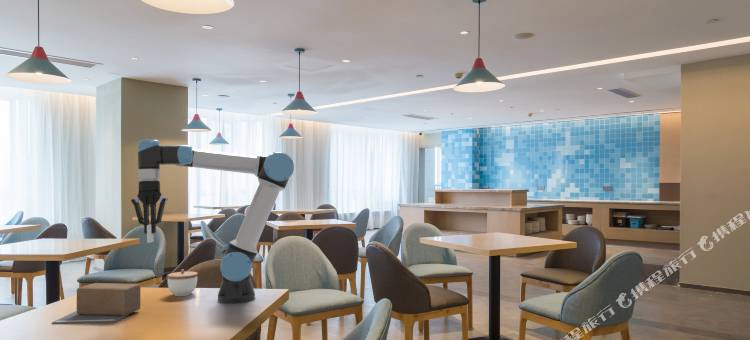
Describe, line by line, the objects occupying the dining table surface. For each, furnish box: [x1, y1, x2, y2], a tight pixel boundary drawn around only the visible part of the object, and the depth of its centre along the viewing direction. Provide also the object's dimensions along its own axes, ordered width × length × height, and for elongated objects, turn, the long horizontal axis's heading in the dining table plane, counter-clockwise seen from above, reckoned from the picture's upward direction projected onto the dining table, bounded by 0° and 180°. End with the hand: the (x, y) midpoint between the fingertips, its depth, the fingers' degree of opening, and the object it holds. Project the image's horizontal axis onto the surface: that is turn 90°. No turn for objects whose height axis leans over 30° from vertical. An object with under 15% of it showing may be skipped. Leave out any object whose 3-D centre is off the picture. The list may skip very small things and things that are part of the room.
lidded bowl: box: [166, 269, 199, 297], centre depth 220 cm, size 13×13×11 cm
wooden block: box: [76, 282, 141, 316], centre depth 187 cm, size 10×10×20 cm
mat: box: [51, 310, 134, 325], centre depth 183 cm, size 22×17×1 cm
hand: (150, 242), depth 189 cm, fingers closed
